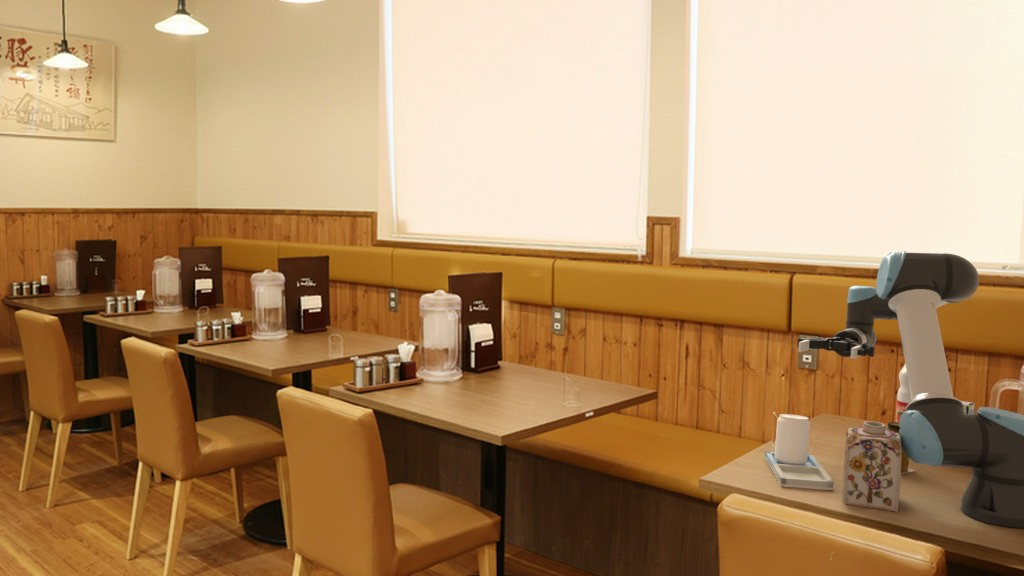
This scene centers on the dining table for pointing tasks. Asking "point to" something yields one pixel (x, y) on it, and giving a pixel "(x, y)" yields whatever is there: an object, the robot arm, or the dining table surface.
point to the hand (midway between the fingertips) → (825, 350)
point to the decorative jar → (872, 467)
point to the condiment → (905, 459)
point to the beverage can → (792, 439)
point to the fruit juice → (903, 394)
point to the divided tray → (800, 474)
